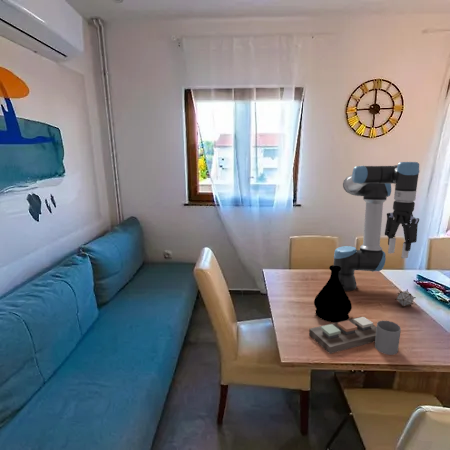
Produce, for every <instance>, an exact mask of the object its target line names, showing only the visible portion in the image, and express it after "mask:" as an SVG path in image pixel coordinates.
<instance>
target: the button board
mask: <svg viewBox="0 0 450 450" xmlns="http://www.w3.org/2000/svg"><path fill="white" fill-rule="evenodd" d="M360 317H361V316H359V317H354V318H349V319H348V320H349V321H350V322H351V323H353V324H354V325H355V322H353V320H354V319H356V318H360ZM345 321H347V320H345ZM340 322H343V321H340ZM338 323H339V322H336V323H333V322H331V323H329V324H324V325H319V326H315V327H314V326H313V327H311V328H309V329H308V330H309V331H308V335H309V336H310V338H312V339H313V340H314V339H315V340H314V341H315V342H316V343H317V342H318V343H317V344H318V345H319V346H321V347H322V349H324V350H325V351H326V352H327V353H328V354H330V355H331V354H334V353H338V352H341V351H342V352H343V351H345V350H348V349H354V348H356V347H360V346H364V345H368V344H372V343H375V337H376V328H377V325H374V324H373V326H371V329H368V330H364V331H362V330H360V329H359V328H358V327H357V330H355V333H352V334H348V335H346V334H344V333H343V332H342V331H341V334H338V337H336V338H332V339H328V338H327V337H326V336H325V335H324V334H323V331H322V330H321V327H322V326H326V325H330V324H333V325H334V326H335V327H336V328H338V329H339V326H338Z"/></svg>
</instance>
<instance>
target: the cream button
mask: <svg viewBox="0 0 450 450" xmlns="http://www.w3.org/2000/svg"><path fill="white" fill-rule="evenodd" d="M359 317H360V318H358V317H355V318H356V319H354V320H353V322H355V325H356V326H357V327H358V328H359V329H360V330H362V331H364V330H368V329H371V326H373V325H374V322H373V321H371V320H370V319H368V318H366V317H365V316H359Z"/></svg>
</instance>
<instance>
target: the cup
mask: <svg viewBox="0 0 450 450" xmlns="http://www.w3.org/2000/svg"><path fill="white" fill-rule="evenodd" d="M376 327H377V328H376V337H375V342H374V348H375V349H376V350H377V351H378V352H380V353H382V354H385V355H387V356H389V355H391V356H392V355H393V356H394V355H397V353H398V352H399V345H400V338H401V331H402V330H401V326H400V325H399V324H398V323H395V322H393V321H389V320H378V321H377V322H376Z"/></svg>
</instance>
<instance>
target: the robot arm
mask: <svg viewBox="0 0 450 450" xmlns="http://www.w3.org/2000/svg"><path fill="white" fill-rule="evenodd" d="M419 173H420V163H419V162H416V161H399V162H398V163H397V165H358V166H357V165H356V166H354V167H353V169H352V174H350V175H348V176H346V177H345V178H344V179H343V182H342V188H343V190H344V191H345V192H346V193H348V195H351V196H355V197H356V196H357V197H362V199H363V201H364V202H365V210H364V211H365V213H364V226H363V227H364V228H363V240H362V242H363V243H362V244H361V245H360V247H359V249H357V248H356V247H354V246H350V245H345V246H343V245H342V246H339V247H337V248H335V250H334V255H333V265H337V266H340V267H341V270H340V271H339V280H340V283H341V285H342V287H343V289H344V290H345V292H350V291H354V290H356V289H357V281H356V276H355V271H362V272H372V273H373V272H381V271H382V270H383V269H384V267H385V265H386V252H385V251H384V250H383V247H382V246H381V236H382V235H381V234H382V221H383V209H384V208H383V207H384V206H383V205H384V203H385V202H386V201H387V198H388V197H390V196H391V194H392V185H393V184H395V185H394V186H395V187H394V197H393V200H394V201H393V204H392V210H393V212H388V213H386V223H385V229H384V236H387V240H388V241H387V245H388V251H387V254H388V255H389V254H394V253H395V248H396V243H397V242H396V240H397V238H396V234H397V231H398V229H399V227H400V225H401V227H402V229H403V236H404V242H402V243H403V244H402V251H401V257H400V258H401V259H407V258H409V253H410V251H411V247H412V244H414V243H417V242H418V241H417V239H418V226H419V225H418V224H419V222H420V218H418V217H414V215H413V212H414V210H415V205H416V203H415V201H416V196H417V189H418V180H419Z"/></svg>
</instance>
